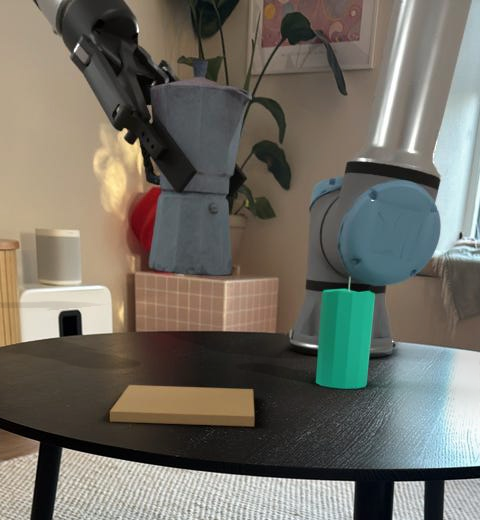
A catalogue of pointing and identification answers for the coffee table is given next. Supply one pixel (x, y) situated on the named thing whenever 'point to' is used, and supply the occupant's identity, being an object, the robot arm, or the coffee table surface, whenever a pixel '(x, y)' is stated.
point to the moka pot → (204, 181)
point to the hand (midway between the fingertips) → (213, 185)
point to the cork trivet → (185, 406)
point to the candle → (344, 338)
